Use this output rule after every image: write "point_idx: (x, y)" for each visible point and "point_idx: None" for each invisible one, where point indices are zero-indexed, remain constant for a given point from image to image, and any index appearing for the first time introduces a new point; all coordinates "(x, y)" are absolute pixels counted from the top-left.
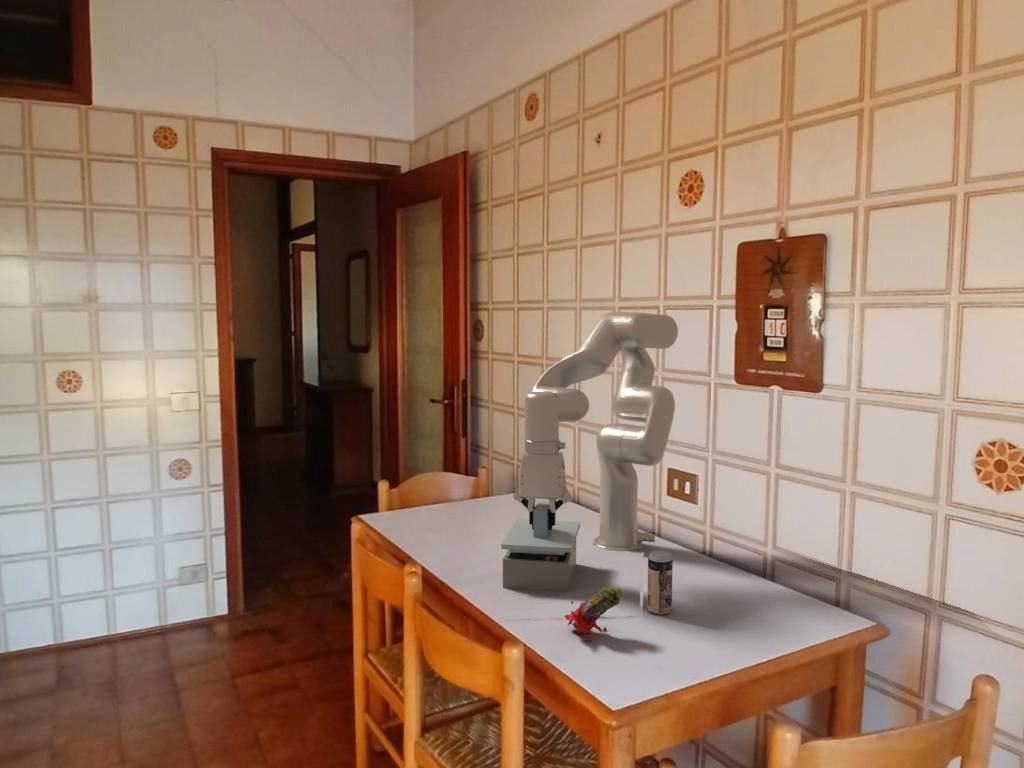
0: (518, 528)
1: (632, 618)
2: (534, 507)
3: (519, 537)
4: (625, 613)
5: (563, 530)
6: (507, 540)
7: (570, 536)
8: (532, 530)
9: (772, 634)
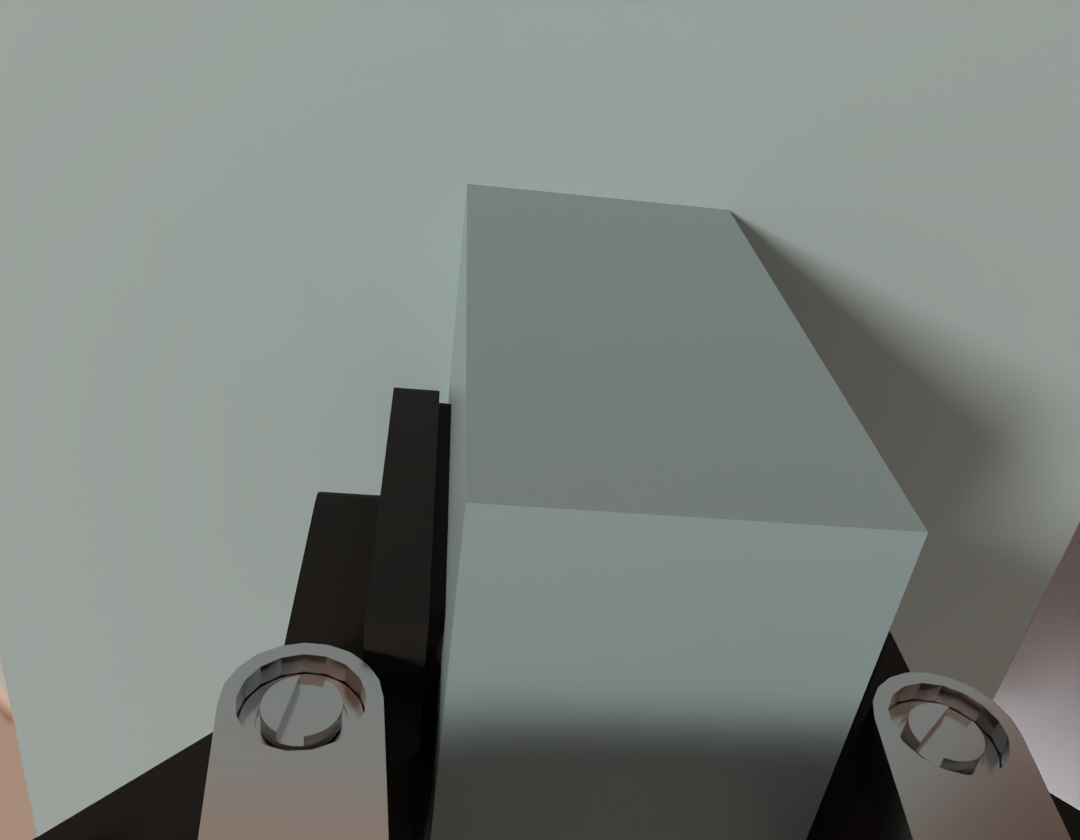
0: (69, 253)
1: (1067, 798)
2: (395, 833)
3: (216, 669)
4: (1052, 751)
5: (940, 322)
6: (77, 777)
7: (981, 587)
8: (371, 355)
9: None
